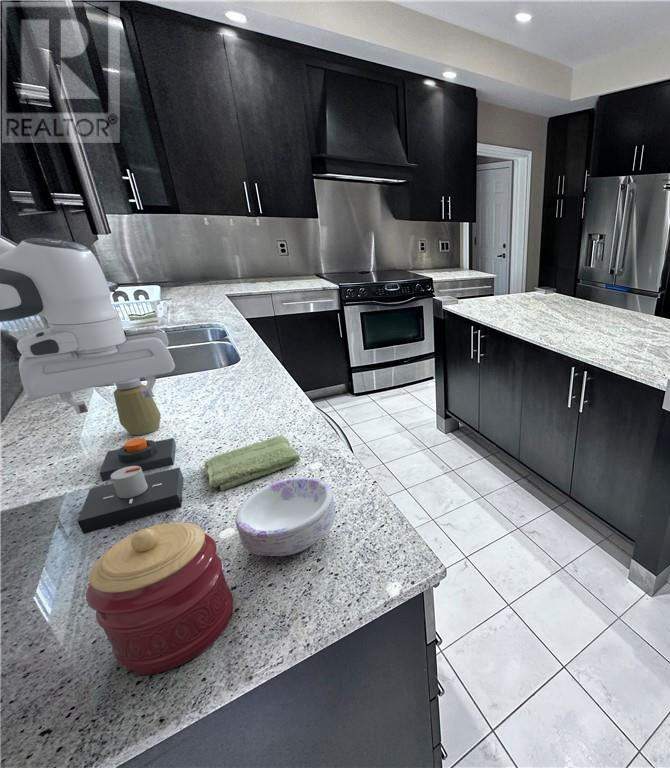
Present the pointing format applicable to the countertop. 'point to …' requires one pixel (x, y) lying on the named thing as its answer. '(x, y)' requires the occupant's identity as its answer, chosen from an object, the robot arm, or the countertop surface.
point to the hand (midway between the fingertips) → (117, 404)
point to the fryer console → (131, 502)
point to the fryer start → (135, 445)
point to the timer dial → (129, 481)
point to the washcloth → (250, 462)
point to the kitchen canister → (160, 596)
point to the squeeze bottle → (136, 408)
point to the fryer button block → (140, 457)
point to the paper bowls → (286, 516)
